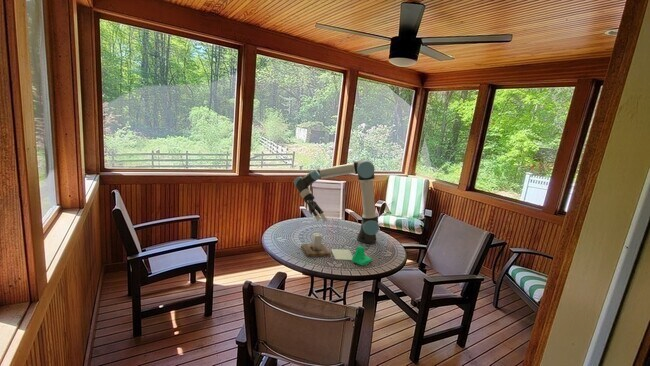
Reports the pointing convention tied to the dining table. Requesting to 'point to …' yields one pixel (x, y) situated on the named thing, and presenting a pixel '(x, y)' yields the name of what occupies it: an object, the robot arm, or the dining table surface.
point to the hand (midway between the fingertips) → (322, 220)
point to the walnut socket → (310, 253)
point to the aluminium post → (316, 242)
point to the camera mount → (361, 256)
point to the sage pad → (342, 254)
